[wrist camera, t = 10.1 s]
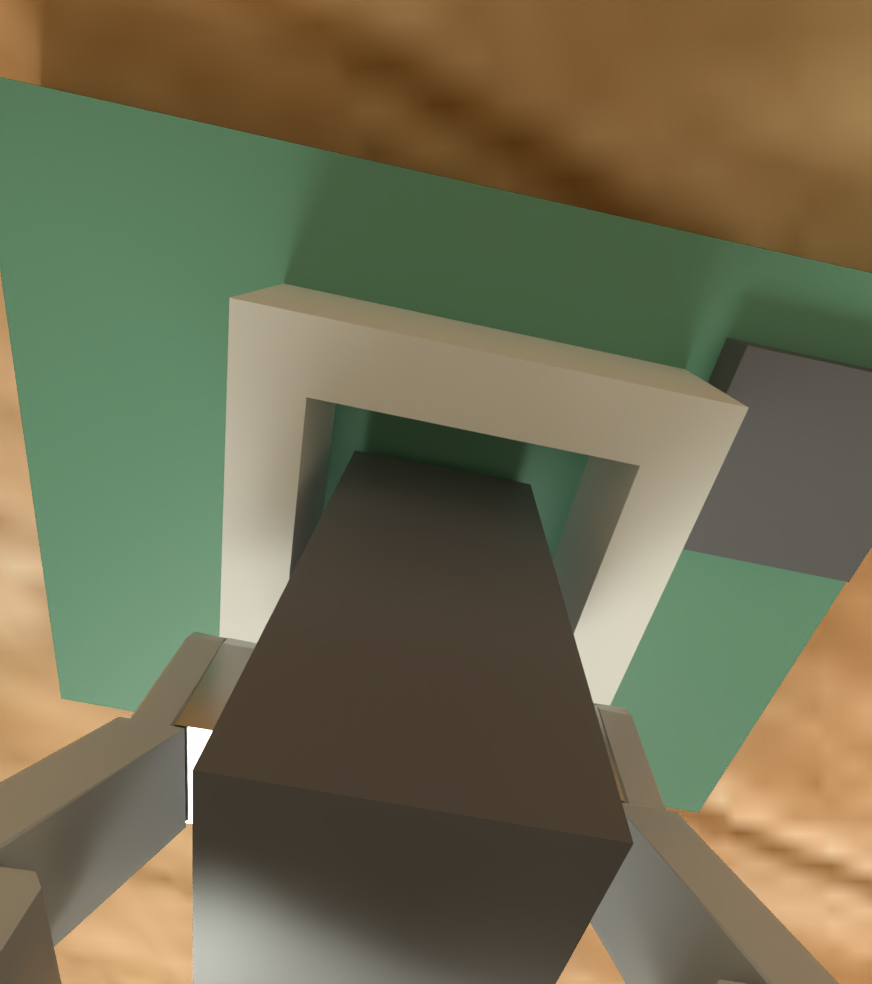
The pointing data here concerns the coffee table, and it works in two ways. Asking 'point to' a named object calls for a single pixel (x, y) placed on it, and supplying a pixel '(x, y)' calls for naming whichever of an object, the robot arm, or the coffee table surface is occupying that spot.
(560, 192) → the coffee table surface
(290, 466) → the header board
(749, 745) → the coffee table surface
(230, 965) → the keyed plug
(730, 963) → the robot arm
